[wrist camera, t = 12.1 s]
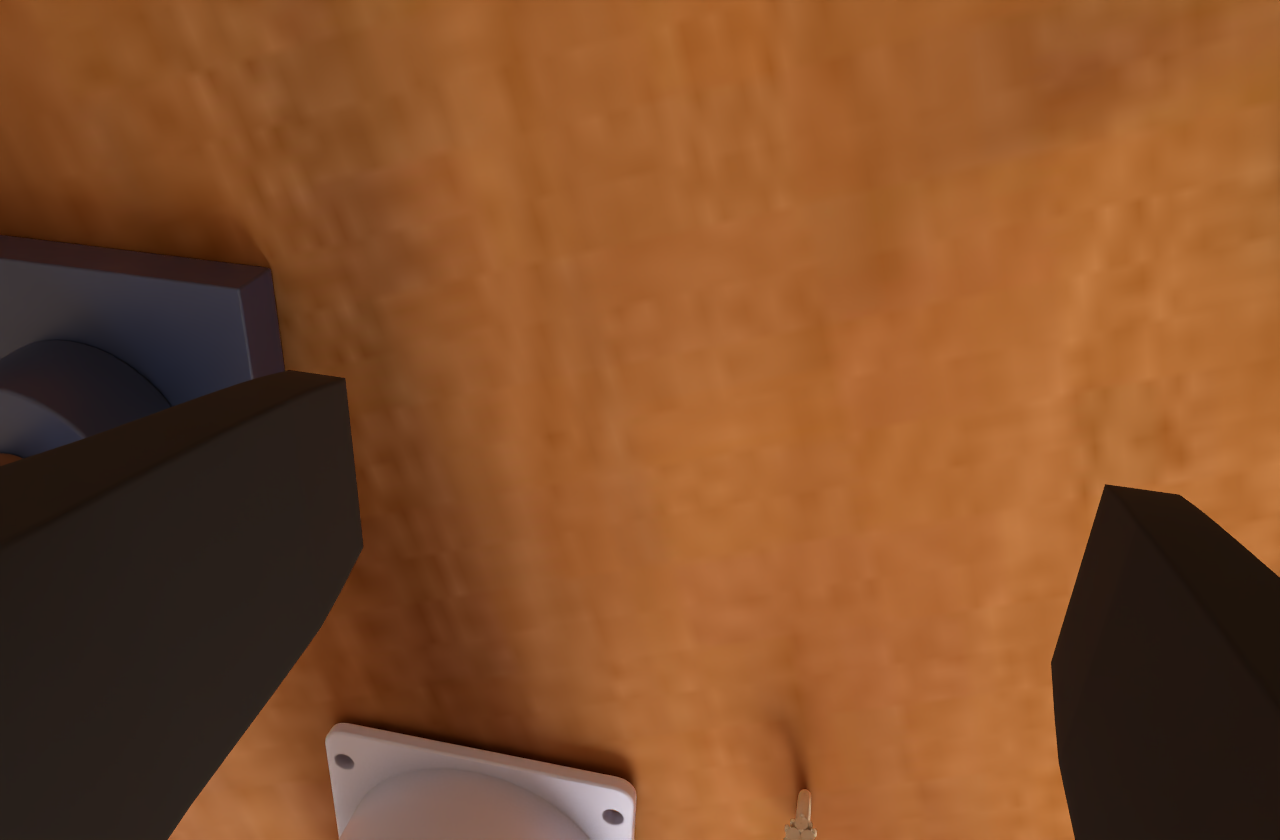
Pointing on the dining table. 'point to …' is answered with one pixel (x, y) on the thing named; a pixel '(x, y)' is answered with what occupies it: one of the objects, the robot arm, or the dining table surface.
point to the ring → (801, 820)
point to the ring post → (120, 337)
